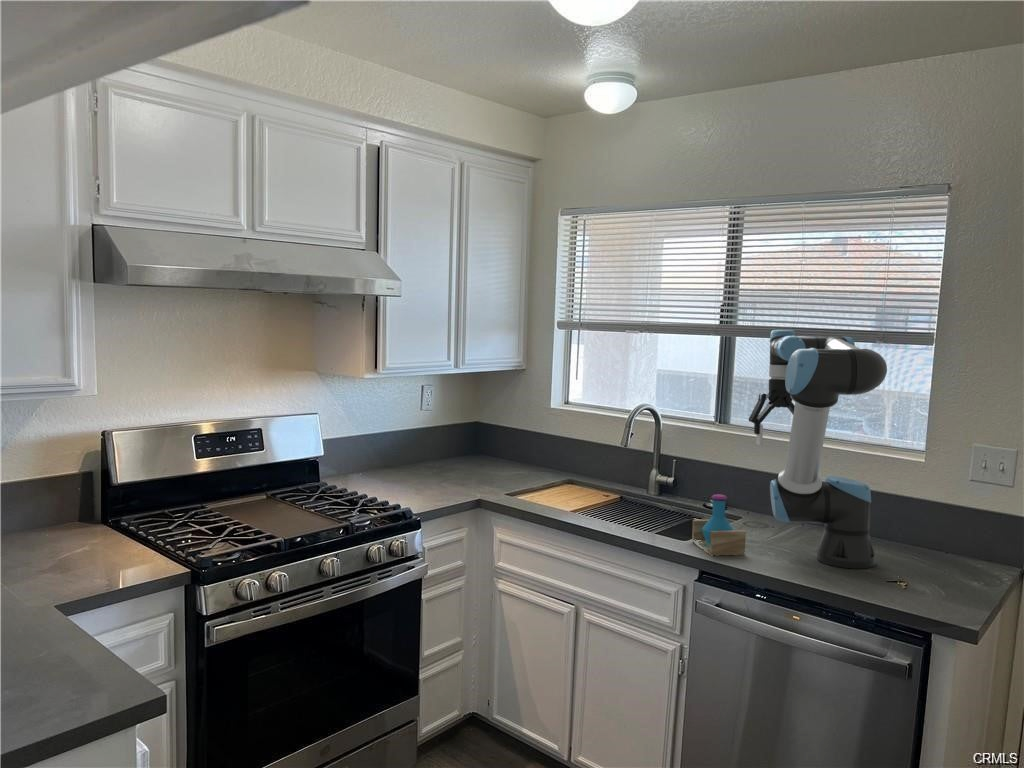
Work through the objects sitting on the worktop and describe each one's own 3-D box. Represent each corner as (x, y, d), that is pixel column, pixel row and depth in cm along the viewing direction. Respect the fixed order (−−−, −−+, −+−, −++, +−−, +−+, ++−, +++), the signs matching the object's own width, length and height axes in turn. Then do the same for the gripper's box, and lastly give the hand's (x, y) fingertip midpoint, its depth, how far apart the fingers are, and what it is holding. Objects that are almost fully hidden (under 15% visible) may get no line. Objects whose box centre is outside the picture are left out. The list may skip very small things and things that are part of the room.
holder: (744, 555, 217) (745, 531, 217) (712, 556, 216) (712, 532, 216) (722, 541, 232) (723, 519, 232) (692, 542, 231) (692, 519, 230)
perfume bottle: (732, 542, 228) (733, 493, 227) (735, 550, 219) (736, 499, 218) (700, 540, 229) (702, 491, 229) (702, 548, 220) (704, 497, 219)
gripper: (811, 377, 246) (809, 442, 248) (739, 377, 243) (737, 442, 244) (824, 379, 239) (821, 445, 240) (749, 378, 235) (747, 446, 237)
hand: (779, 444), depth 242 cm, fingers open, 13 cm apart
